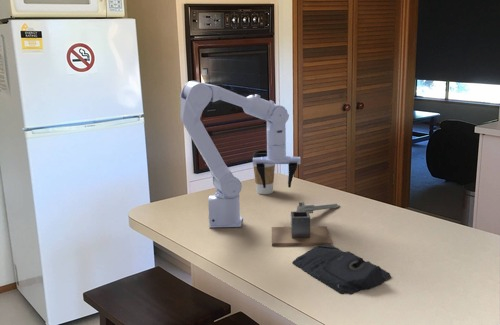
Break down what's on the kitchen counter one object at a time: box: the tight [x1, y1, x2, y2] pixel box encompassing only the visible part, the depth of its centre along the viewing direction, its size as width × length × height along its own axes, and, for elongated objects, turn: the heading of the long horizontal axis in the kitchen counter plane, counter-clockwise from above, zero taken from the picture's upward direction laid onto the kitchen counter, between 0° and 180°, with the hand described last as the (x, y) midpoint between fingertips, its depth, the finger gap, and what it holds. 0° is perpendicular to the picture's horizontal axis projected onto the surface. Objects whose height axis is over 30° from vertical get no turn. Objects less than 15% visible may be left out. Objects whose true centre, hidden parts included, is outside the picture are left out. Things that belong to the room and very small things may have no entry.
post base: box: [271, 225, 332, 247], centre depth 147 cm, size 16×12×5 cm
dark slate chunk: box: [291, 244, 392, 295], centre depth 126 cm, size 15×22×5 cm
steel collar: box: [290, 210, 311, 238], centre depth 146 cm, size 5×5×6 cm
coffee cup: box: [251, 149, 276, 195], centre depth 187 cm, size 8×8×15 cm
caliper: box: [296, 201, 340, 214], centre depth 165 cm, size 20×1×6 cm, turn 134°
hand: (276, 186), depth 163 cm, fingers open, 7 cm apart
